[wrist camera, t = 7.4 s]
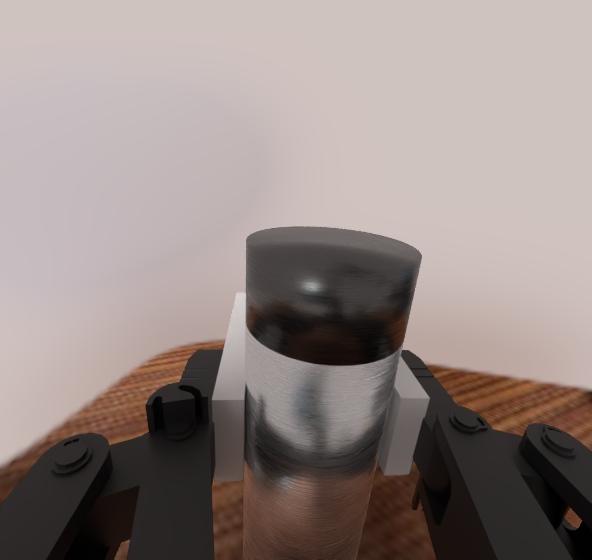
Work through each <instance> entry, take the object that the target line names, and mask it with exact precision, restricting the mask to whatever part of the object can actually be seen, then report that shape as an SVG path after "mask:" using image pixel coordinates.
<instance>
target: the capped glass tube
mask: <svg viewBox="0 0 592 560" xmlns="http://www.w3.org/2000/svg"><path fill="white" fill-rule="evenodd" d="M421 259H422V255H421V253H420V252H419V251H418V250H417V249H416V248H414V247H412V246H410V245H408V244H406V243H404V242H401V241H398V240H395V239H392V238H388V237H384V236H381V235H376V234H371V233H366V232H361V231H354V230H347V229H338V228H327V227H280V228H271V229H266V230H261V231H258V232H255V233H253V234H251V235H249V236H248V237H247V239H246V320H245V380H246V404H245V463H244V498H243V560H356V559H357V555H358V550H359V545H360V541H361V536H362V532H363V527H364V522H365V518H366V513H367V508H368V504H369V499H370V495H371V490H372V485H373V481H374V476H375V472H376V467H377V462H378V458H379V453H380V448H381V444H382V439H383V435H384V430H385V425H386V421H387V416H388V411H389V407H390V402H391V398H392V393H393V388H394V384H395V379H396V375H397V370H398V365H399V361H400V356H401V351H402V347H403V342H404V338H405V333H406V328H407V324H408V319H409V314H410V310H411V305H412V300H413V296H414V291H415V286H416V281H417V277H418V273H419V268H420V264H421Z"/></svg>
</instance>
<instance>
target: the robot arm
mask: <svg viewBox="0 0 592 560" xmlns="http://www.w3.org/2000/svg"><path fill="white" fill-rule="evenodd" d="M245 320H246V293H237V295H236V299H235V303H234V307H233V312H232V316H231V320H230V324H229V329H228V333H227V337H226V341H225V346H224V350H198V351H196V352H195V353H194V354H193V355H192V356H191V357H190V358H189V359H188V362H187V364H186V367H185V371H184V372H183V374H182V377H181V380H180V382H177V383H172V384H168V385H166V386H164V387H162V388H160V389H158V390H157V391H156V392H155V393H154V394H152V395H151V396H150V397H149V399H148V401H147V403H146V412H147V420H148V428H149V432H148V433H146V434H144V435H142V436H140V437H137V438H134V439H131V440H127V441H123V442H120V443H116V444H112V445H109V443H108V440H107V439H106V438H105V437H103V436H102V435H100V434H94V433H86V434H79V435H75V436H73V437H70V438H67V439H65V440H63V441H61V442H59V443H58V444H56V445H54V446H53V447H51V448H50V449H49V450H48V451H47V452H46V453H45V454H43V455H42V456H41V457H40V458H39V459H38V461H37V462H36V463H35V464H34V465H33V467H32V468H31V469H30V470H29V472H28V473H27V474H26V475H25V476H24V478H23V479H22V480H21V481H20V482H19V484H18V485H17V486H16V487H15V489H14V490H13V491H12V492H11V493H10V495H9V496H8V497H7V498H6V499H5V501H4V502H3V503H2V504H1V506H0V560H114V558H115V556H116V553H117V551H118V549H119V546H120V544H121V542H124V541H126V540H129V539H130V544H129V550H128V555H127V560H214V535H213V510H212V483H213V477H214V481H215V482H222V481H243V476H244V463H245V404H246V380H245ZM413 460H414V462H415V464H416V466H417V468H418V470H419V472H420V476H419V479H418V483H417V486H416V490H415V493H414V497H413V500H412V510H417V507H418V504H419V500H421V503H422V507H423V509H422V511H424V515H425V518H426V522H427V526H428V530H429V533H430V537H431V541H432V545H433V549H434V552H435V556H436V560H592V452H591V451H590V450H589V449H588V448H587V447H586V446H584V445H583V444H582V443H581V442H579V441H578V440H577V439H575V438H574V437H572V436H571V435H570V434H568V433H566V432H564V431H562V430H560V429H558V428H555V427H552V426H549V425H546V424H538V423H534V424H531V425H528V427H527V429H526V430H525V433H524V435H523V436H519V435H515V434H510V433H506V432H502V431H497V430H494V429H492V427H491V426H490V425H489V423H488V422H487V421H486V420H485V419H484V418H483V417H481V416H480V415H479V414H477V413H476V412H474V411H472V410H470V409H467V408H465V407H461V406H457V405H456V403H455V402H454V401H453V400H452V398H451V397H450V396H449V394H448V393H447V392H446V391H445V389H444V388H443V387H442V386H441V384H440V383H439V382H438V380H437V379H436V378H434V375H433V374H432V373H431V372H430V370H428V368H427V366H426V365H425V364H424V363H423V361H422V360H421V359H420V358H419V357H417V356H416V355H415V354H413V353H412V352H410V351H409V350H402V351H401V356H400V361H399V365H398V370H397V375H396V379H395V384H394V388H393V393H392V398H391V402H390V407H389V411H388V416H387V421H386V425H385V430H384V435H383V439H382V444H381V448H380V453H379V458H378V462H379V464H380V467H381V470H382V472H383V475H384V476H388V475H409V474H410V470H411V466H412V463H413ZM569 508H571V509H572V510H573V511H574V512H575V513H576V514H577V515H578V516H579V517H580V518H581V520H582V523H581V524H580V526H579V528H578V529H577V528H575V527H573V526H572V525H571V524H570V523H569V522H568V521H567V520H566V519H565V518H564V517H565V516H566V514H567V512H568V510H569Z"/></svg>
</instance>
